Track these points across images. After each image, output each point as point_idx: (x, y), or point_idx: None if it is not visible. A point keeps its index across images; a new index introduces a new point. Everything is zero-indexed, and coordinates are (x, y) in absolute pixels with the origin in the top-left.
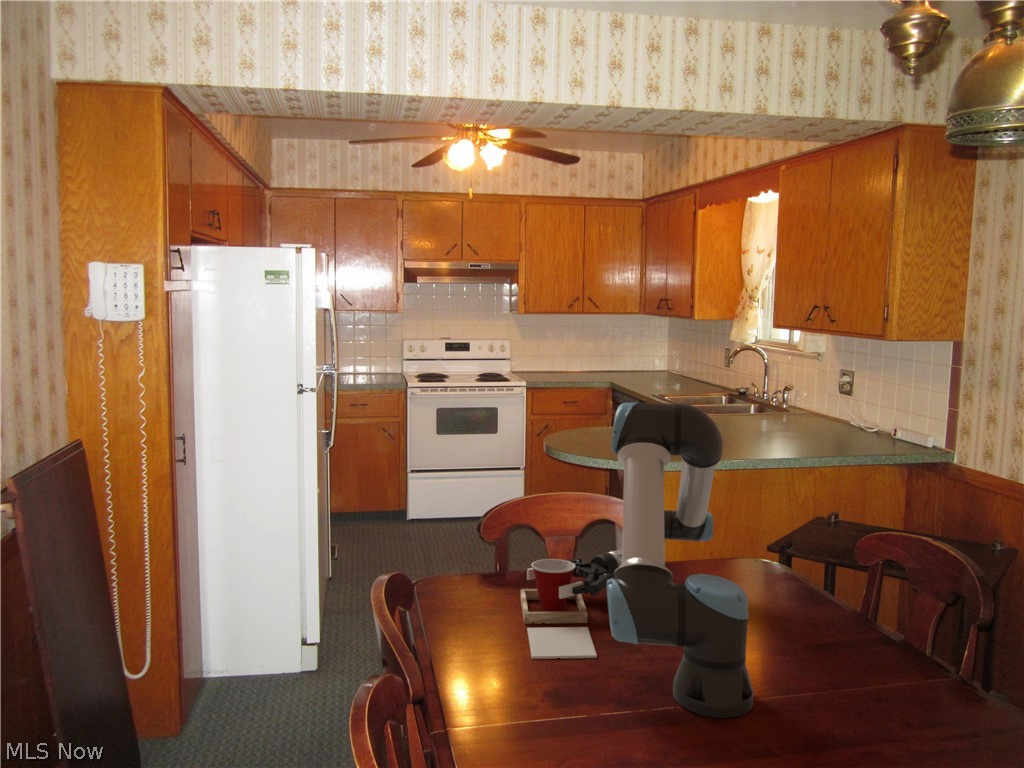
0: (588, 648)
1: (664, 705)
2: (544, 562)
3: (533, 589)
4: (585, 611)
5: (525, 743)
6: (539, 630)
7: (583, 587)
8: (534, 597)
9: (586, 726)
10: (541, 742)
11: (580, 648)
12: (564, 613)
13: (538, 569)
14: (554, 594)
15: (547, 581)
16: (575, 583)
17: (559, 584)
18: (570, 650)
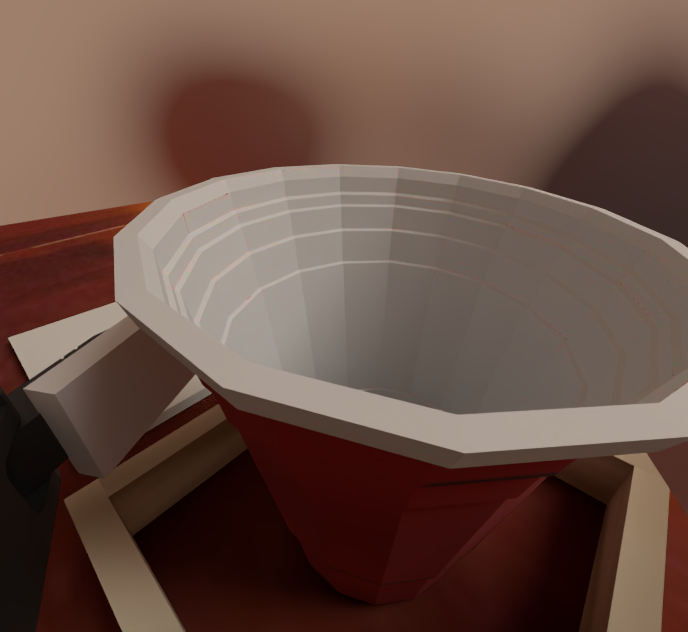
0: (45, 347)
1: None
2: (661, 295)
3: (650, 526)
4: (84, 505)
5: (118, 213)
6: None
7: (26, 385)
8: (601, 547)
9: (31, 239)
10: (98, 217)
11: (77, 336)
12: (214, 407)
13: (383, 168)
14: (300, 359)
15: (327, 258)
16: (113, 336)
17: (260, 306)
18: (111, 318)
